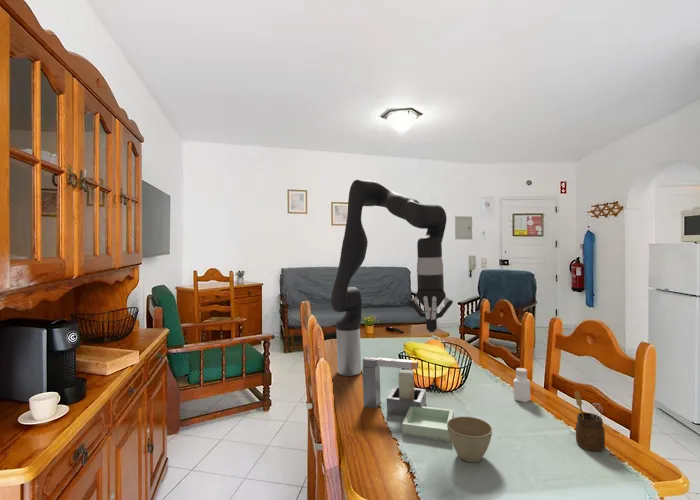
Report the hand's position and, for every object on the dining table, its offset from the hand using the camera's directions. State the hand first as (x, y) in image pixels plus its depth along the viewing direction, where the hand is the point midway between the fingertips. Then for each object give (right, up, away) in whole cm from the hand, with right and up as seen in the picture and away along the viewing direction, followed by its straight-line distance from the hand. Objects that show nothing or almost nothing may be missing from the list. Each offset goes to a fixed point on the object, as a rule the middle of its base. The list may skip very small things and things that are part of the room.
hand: (431, 331), depth 112 cm
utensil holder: (+34, -23, -20) cm, 46 cm away
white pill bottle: (+30, -23, +7) cm, 38 cm away
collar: (-7, -24, +3) cm, 25 cm away
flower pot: (+4, -24, -23) cm, 34 cm away
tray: (-3, -24, -9) cm, 26 cm away
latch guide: (-17, -24, +7) cm, 30 cm away
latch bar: (-12, -12, +4) cm, 17 cm away
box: (-7, -24, +3) cm, 25 cm away
